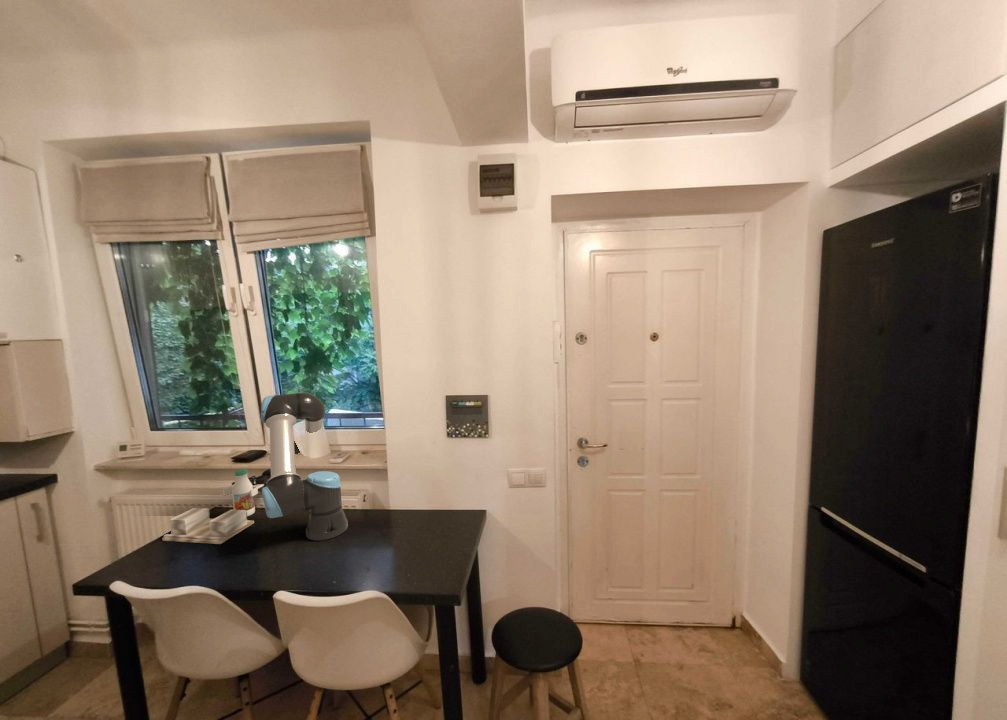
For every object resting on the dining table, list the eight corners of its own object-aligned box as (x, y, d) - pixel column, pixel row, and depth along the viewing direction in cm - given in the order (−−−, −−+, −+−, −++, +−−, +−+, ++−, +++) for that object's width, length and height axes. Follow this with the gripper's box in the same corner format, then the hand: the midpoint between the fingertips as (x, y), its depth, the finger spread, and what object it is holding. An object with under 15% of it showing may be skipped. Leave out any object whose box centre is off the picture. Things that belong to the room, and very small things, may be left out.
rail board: (254, 522, 158) (252, 506, 158) (220, 544, 142) (218, 526, 142) (201, 520, 162) (199, 504, 162) (162, 540, 146) (160, 523, 146)
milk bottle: (229, 518, 163) (225, 473, 162) (244, 509, 171) (240, 467, 169) (244, 519, 162) (241, 474, 160) (259, 510, 169) (255, 467, 168)
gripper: (297, 482, 182) (263, 502, 161) (252, 481, 186) (213, 500, 165) (296, 467, 181) (261, 485, 161) (251, 466, 185) (211, 483, 164)
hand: (237, 493), depth 163 cm, fingers open, 13 cm apart
